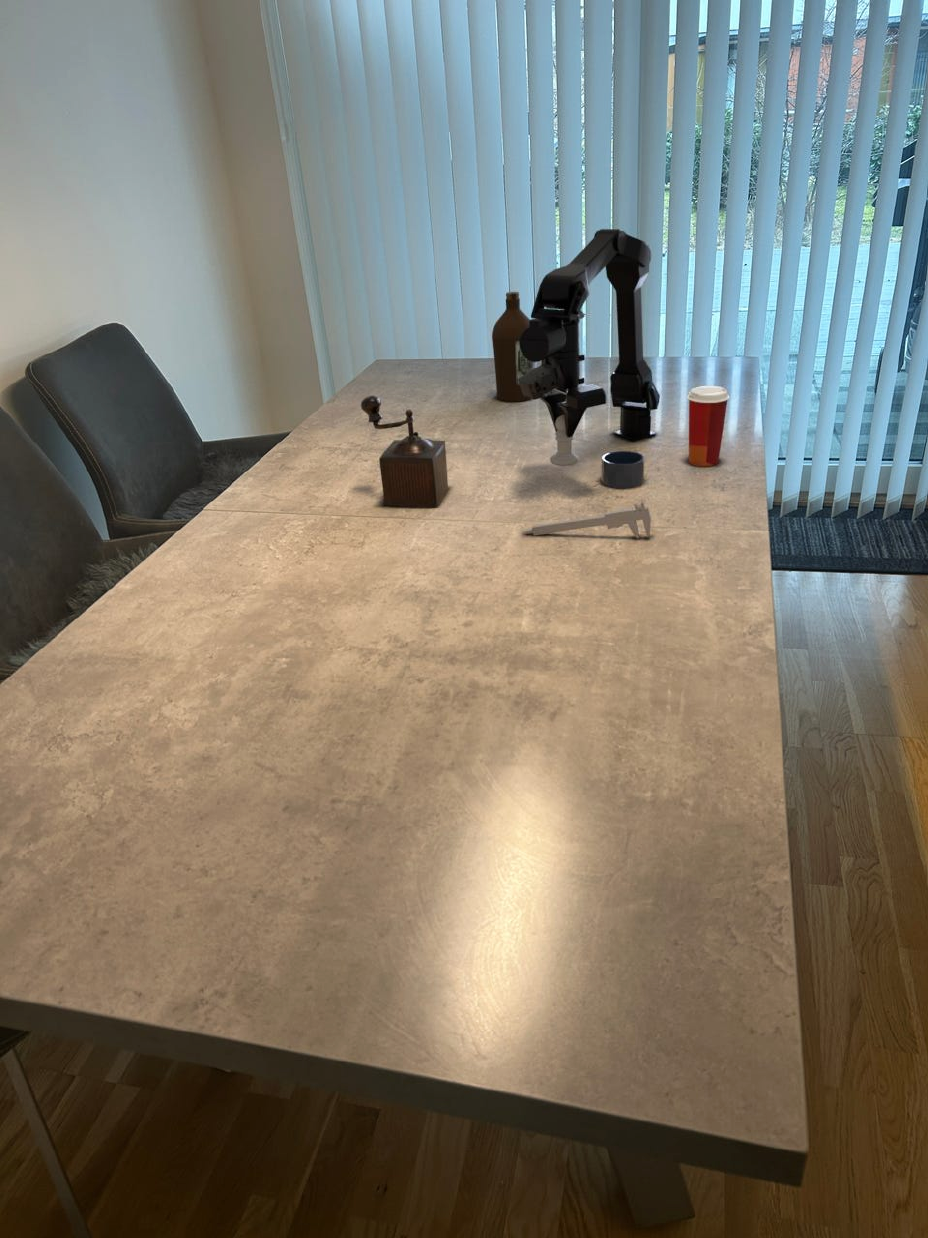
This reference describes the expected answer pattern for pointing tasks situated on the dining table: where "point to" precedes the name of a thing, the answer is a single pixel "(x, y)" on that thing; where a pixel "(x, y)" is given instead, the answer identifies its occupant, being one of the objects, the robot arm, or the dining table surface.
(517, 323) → the olive oil
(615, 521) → the caliper
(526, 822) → the dining table surface
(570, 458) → the chess piece
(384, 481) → the manual coffee grinder
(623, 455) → the ceramic cup
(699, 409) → the paper cup
